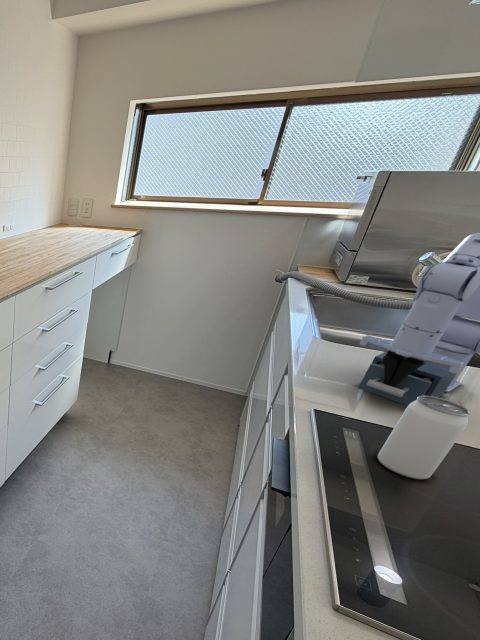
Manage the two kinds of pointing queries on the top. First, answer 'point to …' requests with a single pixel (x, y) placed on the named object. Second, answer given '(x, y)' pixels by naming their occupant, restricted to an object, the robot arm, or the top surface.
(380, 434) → the top surface
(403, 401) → the drawer
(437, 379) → the cabinet
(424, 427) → the can
